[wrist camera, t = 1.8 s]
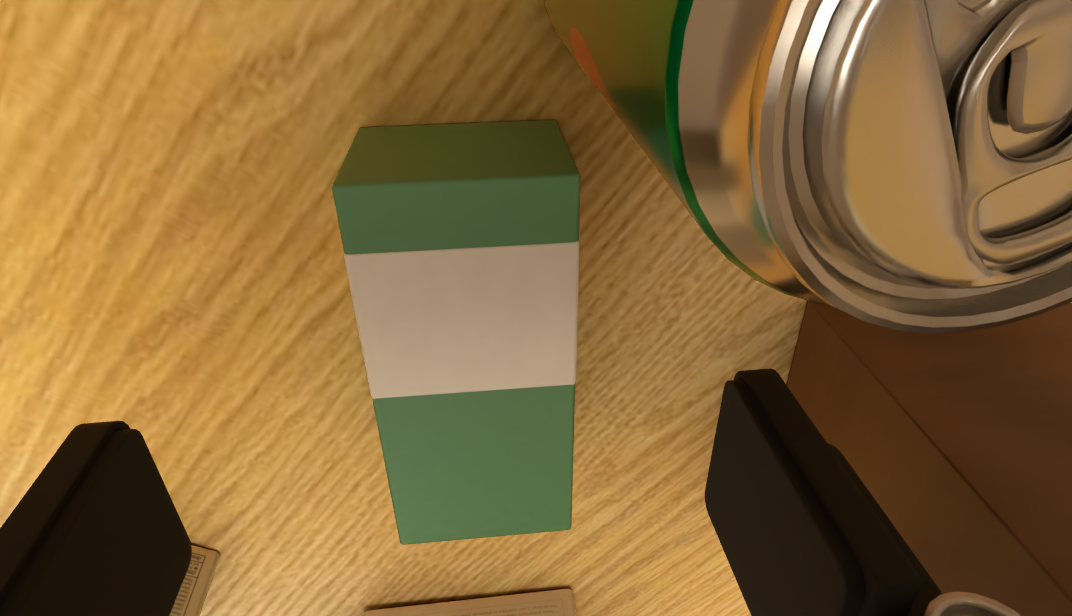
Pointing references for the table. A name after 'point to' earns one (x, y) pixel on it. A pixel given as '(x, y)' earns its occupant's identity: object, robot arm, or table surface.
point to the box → (195, 583)
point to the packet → (467, 319)
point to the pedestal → (956, 444)
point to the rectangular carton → (493, 606)
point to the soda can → (857, 143)
